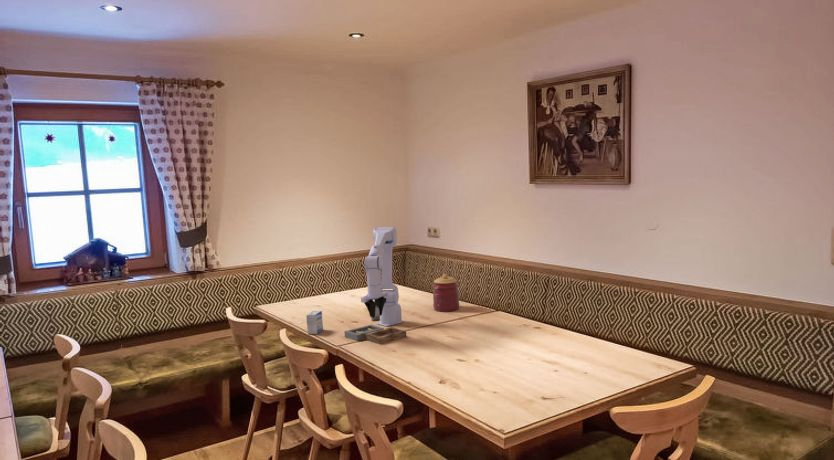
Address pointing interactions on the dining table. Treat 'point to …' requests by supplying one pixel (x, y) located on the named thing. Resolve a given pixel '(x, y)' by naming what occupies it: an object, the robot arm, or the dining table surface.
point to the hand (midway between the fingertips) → (376, 316)
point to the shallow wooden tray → (385, 335)
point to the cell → (376, 314)
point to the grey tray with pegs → (361, 332)
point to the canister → (445, 294)
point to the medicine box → (314, 322)
